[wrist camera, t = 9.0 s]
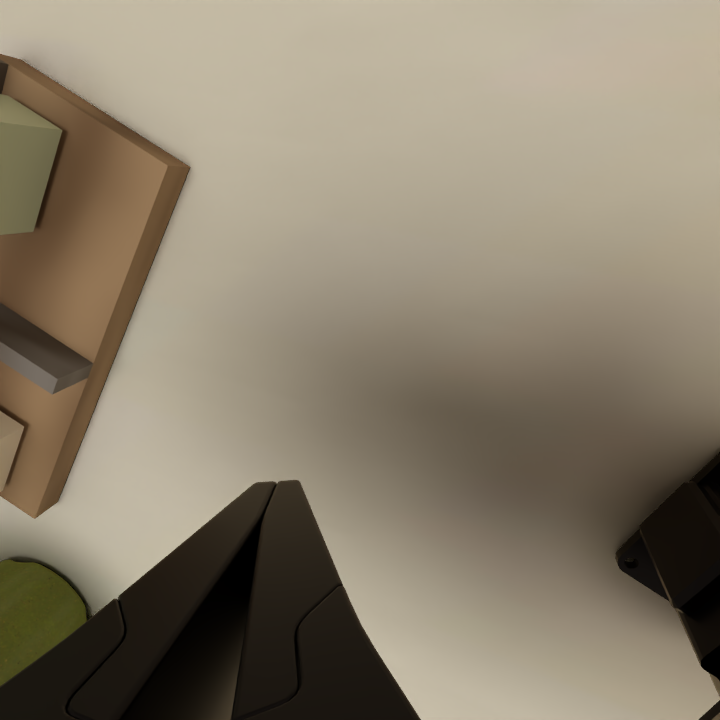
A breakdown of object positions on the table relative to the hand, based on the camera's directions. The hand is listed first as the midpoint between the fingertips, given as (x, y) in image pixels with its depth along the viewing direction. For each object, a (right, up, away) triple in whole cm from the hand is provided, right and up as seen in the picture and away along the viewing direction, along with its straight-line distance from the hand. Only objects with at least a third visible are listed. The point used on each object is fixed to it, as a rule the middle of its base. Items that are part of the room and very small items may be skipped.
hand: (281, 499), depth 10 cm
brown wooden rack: (-13, +5, +14) cm, 20 cm away
